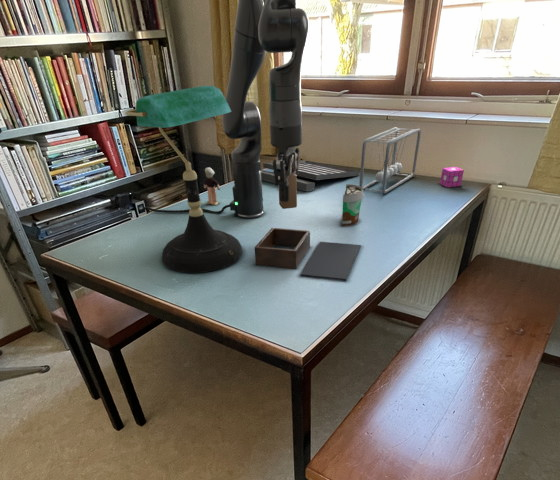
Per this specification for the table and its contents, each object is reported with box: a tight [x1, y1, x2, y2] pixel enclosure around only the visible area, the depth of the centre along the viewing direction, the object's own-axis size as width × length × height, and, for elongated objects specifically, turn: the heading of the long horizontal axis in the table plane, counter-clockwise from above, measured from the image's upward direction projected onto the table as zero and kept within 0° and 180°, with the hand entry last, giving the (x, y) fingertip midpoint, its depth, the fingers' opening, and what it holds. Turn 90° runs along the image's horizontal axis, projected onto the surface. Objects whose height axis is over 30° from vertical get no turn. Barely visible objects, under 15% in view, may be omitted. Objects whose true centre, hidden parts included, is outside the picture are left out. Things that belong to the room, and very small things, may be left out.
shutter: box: [261, 159, 360, 192], centre depth 181 cm, size 32×7×31 cm
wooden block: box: [278, 172, 298, 210], centre depth 107 cm, size 4×4×8 cm
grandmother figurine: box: [203, 167, 221, 206], centre depth 154 cm, size 8×4×13 cm, turn 68°
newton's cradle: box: [359, 126, 422, 195], centre depth 163 cm, size 30×10×18 cm, turn 144°
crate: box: [254, 227, 311, 270], centre depth 117 cm, size 12×15×5 cm
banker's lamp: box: [125, 85, 243, 274], centre depth 109 cm, size 26×23×40 cm
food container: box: [341, 183, 365, 227], centre depth 135 cm, size 12×6×10 cm, turn 168°
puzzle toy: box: [439, 166, 465, 188], centre depth 163 cm, size 6×6×6 cm
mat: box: [299, 241, 362, 282], centre depth 115 cm, size 12×22×1 cm, turn 162°
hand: (287, 197), depth 108 cm, fingers closed on wooden block, 5 cm apart
